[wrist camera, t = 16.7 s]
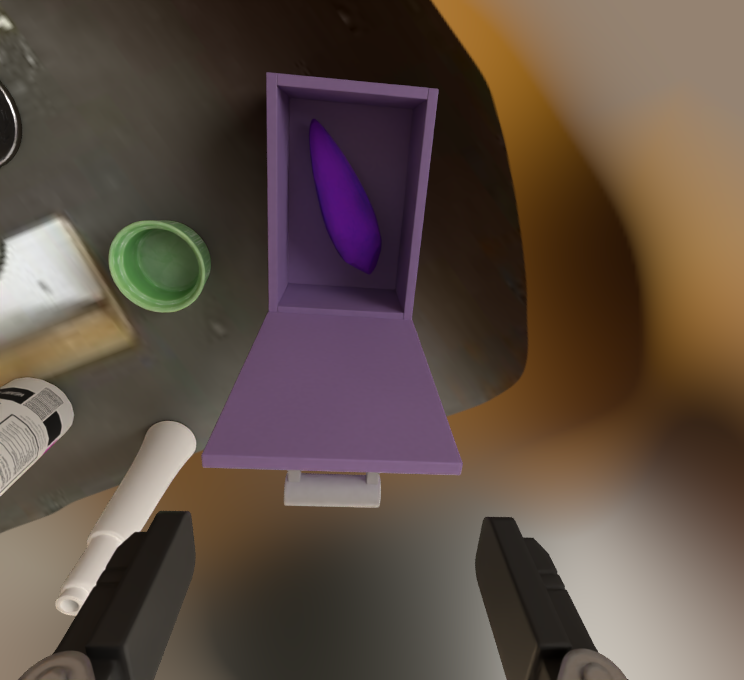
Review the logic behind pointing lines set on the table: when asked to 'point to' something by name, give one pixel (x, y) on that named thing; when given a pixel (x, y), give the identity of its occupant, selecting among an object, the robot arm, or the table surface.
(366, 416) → the lid
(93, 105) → the table surface
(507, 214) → the table surface
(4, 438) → the supplement can
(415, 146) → the file box
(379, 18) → the table surface
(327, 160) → the purple teardrop shape
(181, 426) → the cosmetic bottle
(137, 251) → the ramekin
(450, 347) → the table surface
